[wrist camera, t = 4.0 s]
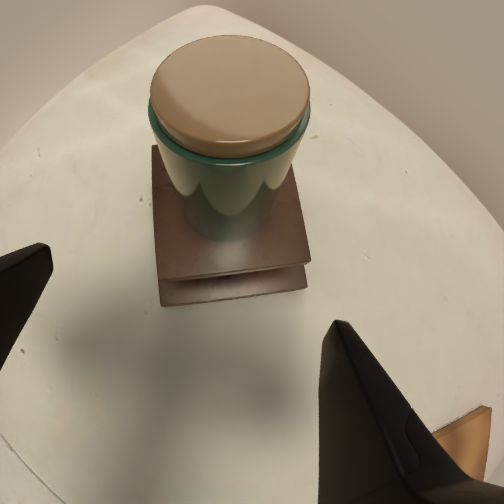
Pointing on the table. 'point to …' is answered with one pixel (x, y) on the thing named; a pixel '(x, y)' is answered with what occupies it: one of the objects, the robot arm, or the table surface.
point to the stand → (226, 250)
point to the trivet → (468, 441)
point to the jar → (228, 130)
